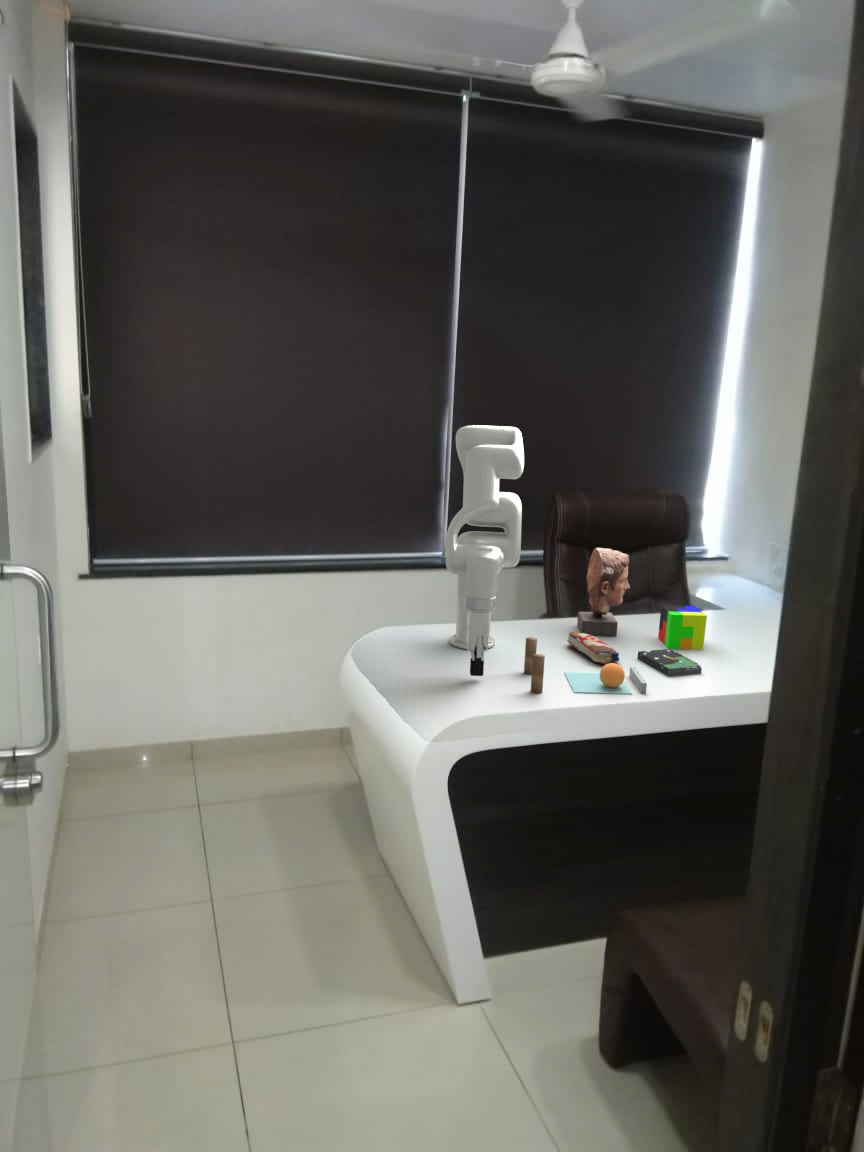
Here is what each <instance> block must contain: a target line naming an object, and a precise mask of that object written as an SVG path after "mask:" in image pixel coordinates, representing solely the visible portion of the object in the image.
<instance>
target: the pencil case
mask: <svg viewBox="0 0 864 1152" xmlns="http://www.w3.org/2000/svg"><path fill="white" fill-rule="evenodd" d="M566 642H567V643H568V644H569V645H571V646H572V647H574V649H576V650H578V651H580V652H581V653H582V654H584V655H585V656H587V657H588V658H589V659H590V660H592V661H593V662H595V663H598V664H602V665H606V664H609V663H615V662H620V657H619V655H620V653H619V652H617V651H616V649H614V648H613V647H612V646H610V645H609V644H607V643H605V642H603V641H602V640H601V639H600V638H597V636H592V635H588V634H585V633H581V632H573V631H571V632H568V637H567V640H566Z"/></svg>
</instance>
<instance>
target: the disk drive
mask: <svg viewBox="0 0 864 1152" xmlns="http://www.w3.org/2000/svg"><path fill="white" fill-rule="evenodd" d="M637 660H638V661H641V663H644V664H646V665H647V666H649V667H651V668H653V669H654V670H656V671H658V672H660V673H661V674H663V675H665V676H666V677H668V678H669V677H678V676H689V675H691V676H692V675H699V674H702V669H703V668H702V667H701V664H699V663H698V662H695V661H694V660H691V659H690V658H688V657H686V656H684V655H682V654H680V653H679V652H676V651H675V650H674V649H668V648H665V649H664V648H663V649H652V650H651V651H646V650H640V651H639V650H638V651H637Z"/></svg>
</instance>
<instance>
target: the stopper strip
mask: <svg viewBox="0 0 864 1152" xmlns="http://www.w3.org/2000/svg"><path fill="white" fill-rule="evenodd" d="M629 678H630V679H631V681H632V682H633V683H634V685H635V687H636V688H637V689H638V691H639V693H640V694H647V687H648V686H647V685H648V682H646V680H645V679H644V677H643V676H642V675H641V673H640V672H639V671H638V669H637V667H636V666H630V667H629Z"/></svg>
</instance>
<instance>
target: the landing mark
mask: <svg viewBox="0 0 864 1152" xmlns="http://www.w3.org/2000/svg"><path fill="white" fill-rule="evenodd" d="M564 675H565V678H566V679H567V682H568V683H569V685H570V688H571V690H572V691H573V693H574V694H606V695H608V694H609V695H612V694H613V695H633V692H632V691H631V690H630V688H629V686H628V685H627V684H626V682H625V681H623V683H622V684H621V685H620V686H618V687H615V688H610V687H607V686H605V685H604V684H603V683H602V682H601V680H600V672H599V673H597V672H564Z"/></svg>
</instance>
